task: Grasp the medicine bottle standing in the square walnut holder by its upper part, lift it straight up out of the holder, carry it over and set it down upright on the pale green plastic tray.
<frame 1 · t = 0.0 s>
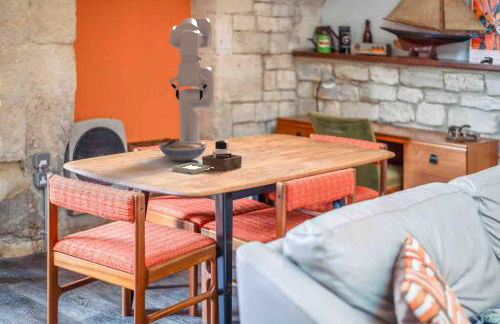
hand: (189, 99, 331), 31 cm above the table, tool pointing down, fingers open, 9 cm apart
holder: (221, 167, 344), on the table
medicine bottle: (221, 167, 344), resting in holder
tray: (191, 170, 336), on the table
ramen bowl: (182, 160, 358), on the table
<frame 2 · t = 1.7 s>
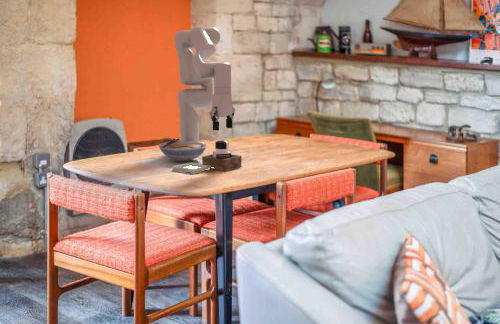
hand: (222, 129, 340), 17 cm above the table, tool pointing down, fingers open, 9 cm apart
nothing on the table moved.
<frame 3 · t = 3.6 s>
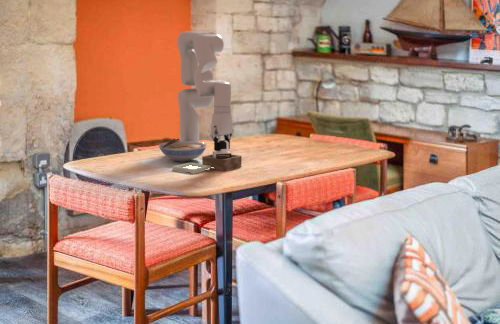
hand: (222, 149, 342), 8 cm above the table, tool pointing down, fingers closed on medicine bottle, 6 cm apart
medicine bottle: (221, 167, 344), resting in holder, touching gripper
everything else where it was.
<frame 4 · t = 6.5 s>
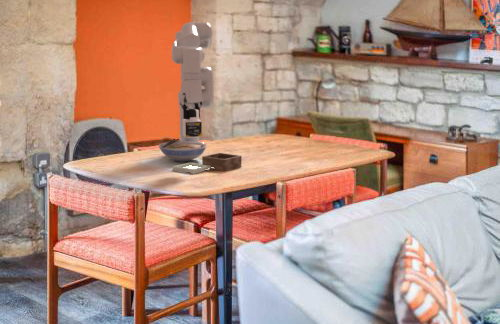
hand: (191, 117, 332), 23 cm above the table, tool pointing down, fingers closed on medicine bottle, 6 cm apart
medicine bottle: (192, 136, 333), point 15 cm above the table, touching gripper
everything else where it was.
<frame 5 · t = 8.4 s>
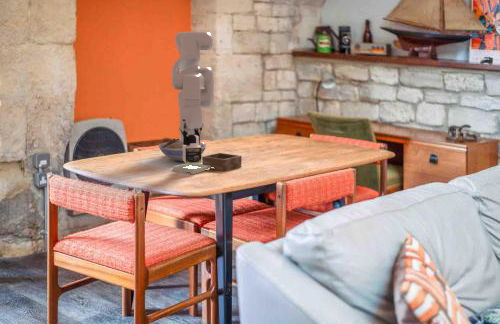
hand: (191, 143, 334), 12 cm above the table, tool pointing down, fingers closed on medicine bottle, 6 cm apart
medicine bottle: (192, 162, 335), point 3 cm above the table, touching gripper
everything else where it was.
when the fingers open (10 cm above the table, at t = 9.8 s): medicine bottle stays where it is, resting on tray.
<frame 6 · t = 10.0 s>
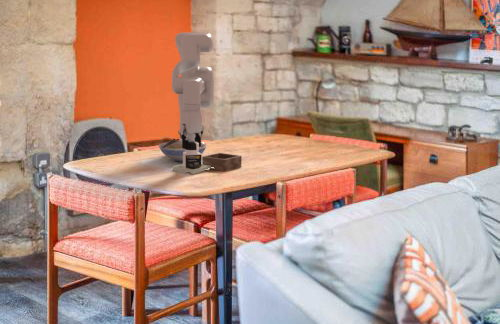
hand: (191, 147, 334), 10 cm above the table, tool pointing down, fingers open, 7 cm apart
medicine bottle: (192, 169, 336), resting on tray
everything else where it was.
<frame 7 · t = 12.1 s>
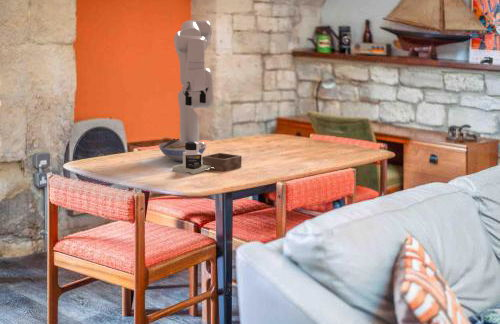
hand: (195, 104, 341), 28 cm above the table, tool pointing down, fingers open, 9 cm apart
nothing on the table moved.
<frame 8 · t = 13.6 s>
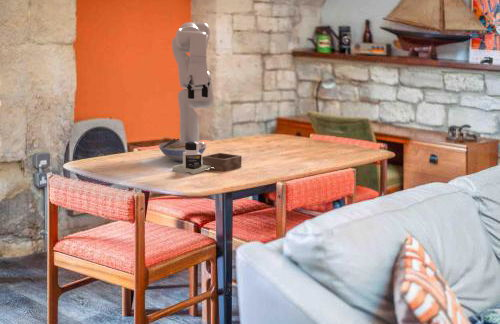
hand: (198, 97, 346), 30 cm above the table, tool pointing down, fingers open, 9 cm apart
nothing on the table moved.
at the end: medicine bottle inside the target area on the tray (0.2 cm from its centre), point 0.4 cm above the tray's base; medicine bottle tilted 0°; the gripper is holding nothing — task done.
